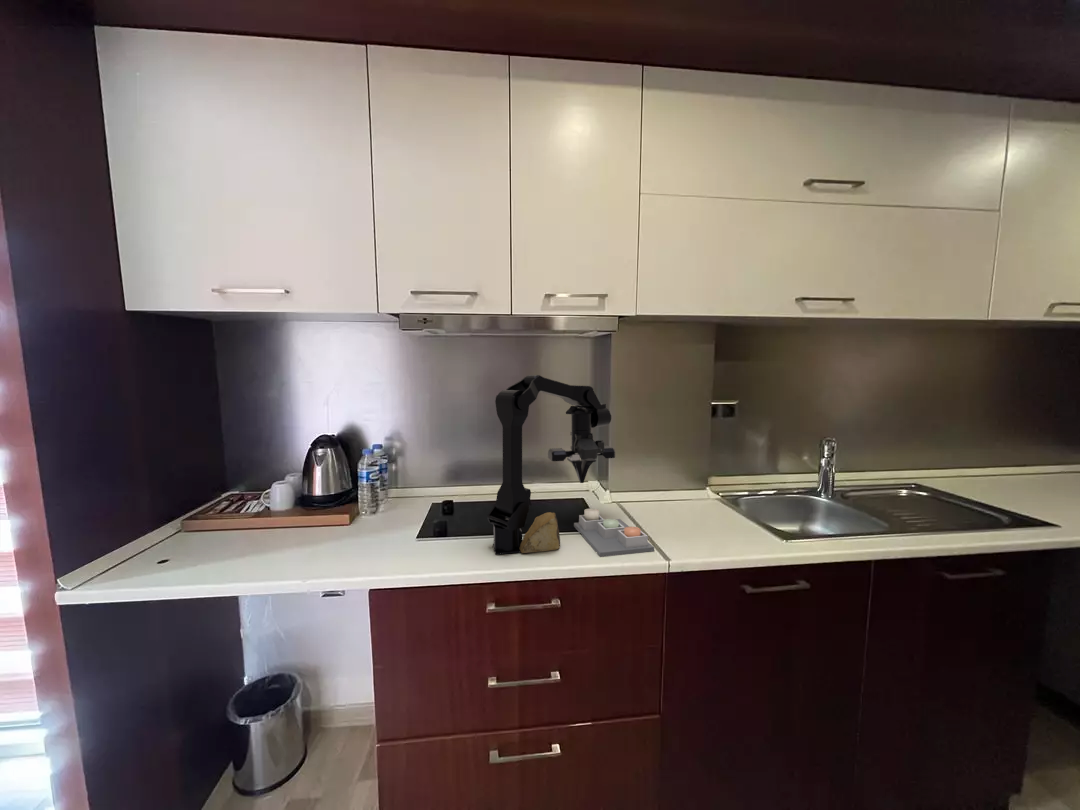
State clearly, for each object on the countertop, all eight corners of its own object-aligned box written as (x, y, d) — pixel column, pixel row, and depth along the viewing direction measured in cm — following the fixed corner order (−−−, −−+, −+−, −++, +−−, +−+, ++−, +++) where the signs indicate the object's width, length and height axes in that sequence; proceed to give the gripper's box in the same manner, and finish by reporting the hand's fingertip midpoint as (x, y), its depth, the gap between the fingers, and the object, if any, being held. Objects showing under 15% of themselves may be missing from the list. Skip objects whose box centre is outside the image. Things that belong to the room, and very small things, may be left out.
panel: (600, 556, 109) (600, 542, 108) (573, 526, 130) (573, 514, 130) (654, 551, 111) (654, 537, 111) (619, 522, 133) (619, 510, 133)
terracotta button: (628, 544, 112) (628, 532, 112) (621, 538, 116) (621, 527, 116) (643, 543, 113) (643, 531, 113) (636, 537, 117) (636, 525, 117)
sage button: (606, 535, 118) (606, 524, 118) (601, 530, 122) (601, 519, 122) (620, 534, 119) (620, 523, 119) (615, 529, 123) (615, 518, 123)
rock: (514, 549, 107) (556, 545, 106) (515, 513, 112) (555, 510, 111) (524, 560, 116) (562, 557, 115) (524, 527, 121) (561, 524, 120)
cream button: (587, 524, 124) (587, 513, 124) (582, 519, 128) (582, 509, 128) (600, 522, 125) (600, 512, 125) (596, 518, 129) (596, 507, 129)
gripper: (556, 434, 121) (557, 492, 122) (622, 431, 125) (622, 487, 126) (547, 429, 131) (547, 482, 133) (608, 426, 135) (608, 478, 137)
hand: (581, 482), depth 132 cm, fingers closed
